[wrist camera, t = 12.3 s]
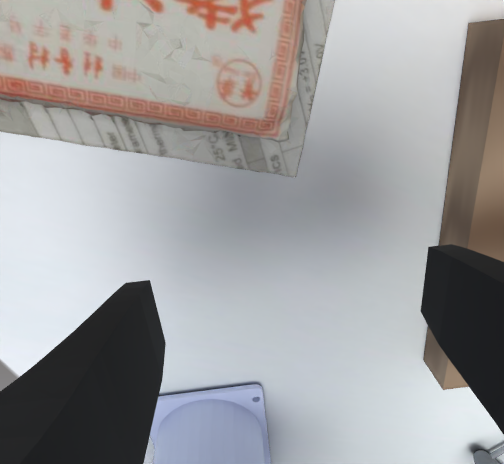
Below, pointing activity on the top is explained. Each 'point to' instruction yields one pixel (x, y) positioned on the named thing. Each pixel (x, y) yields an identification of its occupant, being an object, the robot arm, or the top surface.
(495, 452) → the newton's cradle
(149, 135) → the packaged product
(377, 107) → the top surface
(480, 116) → the loading dock
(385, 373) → the top surface
